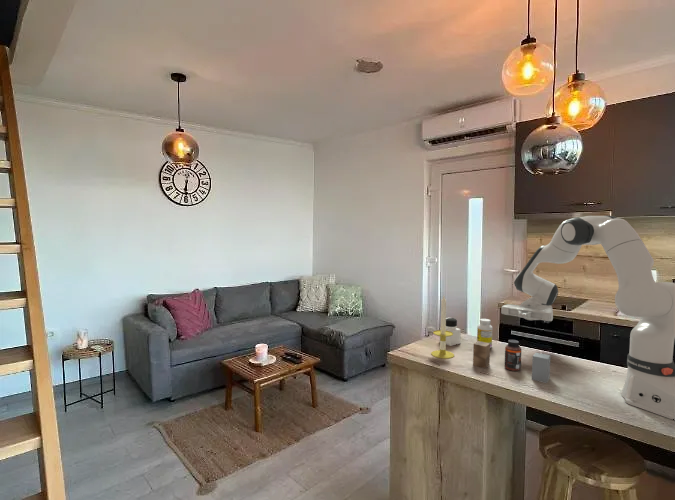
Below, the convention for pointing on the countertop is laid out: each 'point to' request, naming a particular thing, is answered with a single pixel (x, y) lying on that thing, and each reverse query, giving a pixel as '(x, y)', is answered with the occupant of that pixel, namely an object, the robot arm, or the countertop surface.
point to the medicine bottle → (452, 327)
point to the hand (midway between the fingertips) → (522, 315)
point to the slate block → (541, 367)
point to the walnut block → (481, 354)
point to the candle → (443, 335)
